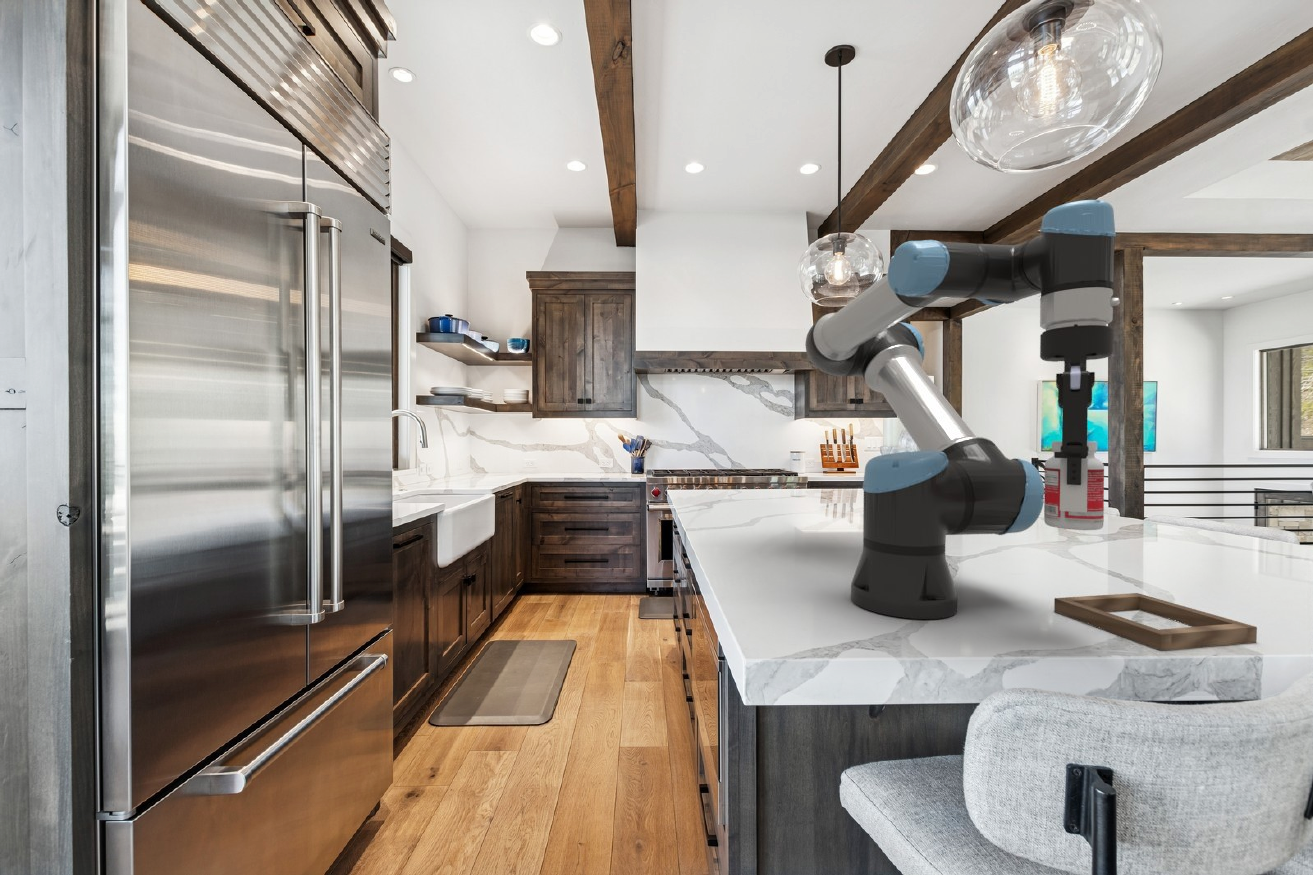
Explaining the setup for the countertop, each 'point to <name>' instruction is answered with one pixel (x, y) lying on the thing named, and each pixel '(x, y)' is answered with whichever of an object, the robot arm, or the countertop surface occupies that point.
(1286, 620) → the countertop surface
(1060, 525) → the pill bottle
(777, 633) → the countertop surface
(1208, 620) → the brown wooden square frame
